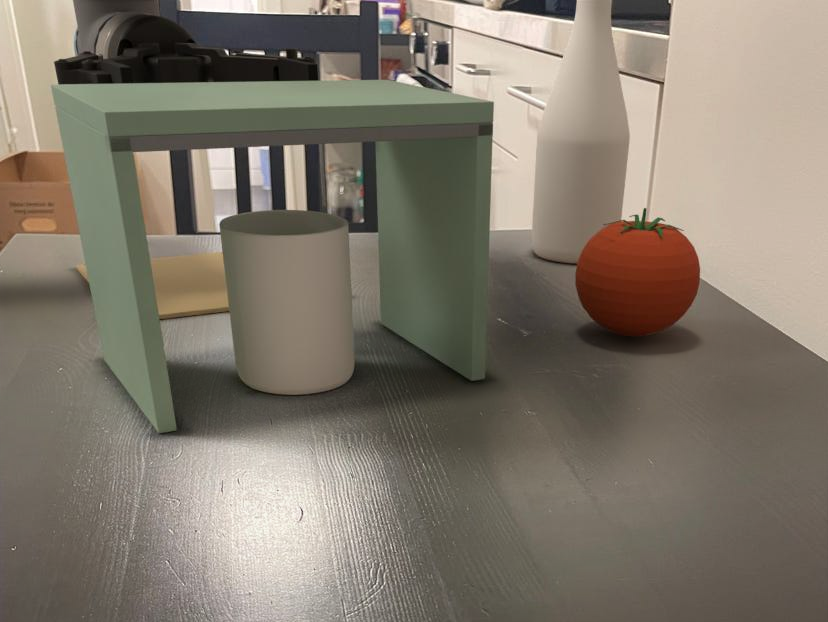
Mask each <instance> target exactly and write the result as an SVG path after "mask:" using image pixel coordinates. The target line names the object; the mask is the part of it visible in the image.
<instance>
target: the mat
mask: <svg viewBox="0 0 828 622" xmlns="http://www.w3.org/2000/svg"><path fill="white" fill-rule="evenodd" d="M150 262H151V268H152V274H153V281H154V287H155V294H156V300H157V306H158V313H159V319H160V320H165V319H173V318H182V317H190V316H198V315H199V316H200V315H208V314H216V313H227V312H229V303H228V295H227V286H226V278H225V269H224V261H223V252H222V251H218V252H217V251H216V252H208V253H196V254H185V255H184V254H183V255H174V256H162V257H153V258H151V257H150ZM75 266H76V270H77V271H78V273H79V274H81V276H82V277H83V278H84V279H85V280H86V281H87V283H89V279H88V274H87V269H86V264H76V265H75Z"/></svg>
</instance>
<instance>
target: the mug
mask: <svg viewBox="0 0 828 622" xmlns="http://www.w3.org/2000/svg"><path fill="white" fill-rule="evenodd" d="M218 226H219V234H220V242H221V252H223V261H224V269H225V278H226V286H227V295H228V303H229V311H228V313H229V319H230V329H231V338H232V345H233V353H234V361H235V368H236V371H237V375H238V377H239V378H240V380H241V381H242V382H243V383H244V384H245V385H246V386H248V387H249V388H251V389H253V390H256V391H259V392H263V393H267V394H274V395H282V396H283V395H285V396H286V395H287V396H289V395H290V396H295V395H296V396H297V395H311V394H317V393H318V394H319V393H323V392H327V391H331V390H334V389H337V388H339V387H342V386H343V385H345V384H346V383H347V382H348V381H349V380H350V379H351V378H352V377H353V374H354V370H355V338H354V317H353V315H354V313H353V293H352V273H351V271H352V270H351V253H350V252H351V251H350V250H351V249H350V229H349V228H350V227H349V221H348V220H347V219H346V218H344V217H342V216H340V215H336V214H333V213H329V212H323V211H314V210H302V209H269V210H268V209H267V210H255V211H254V210H253V211H248V212H242V213H237V214H232V215H229V216H227V217H224V218H222V219H221V220H220V222H219V223H218Z"/></svg>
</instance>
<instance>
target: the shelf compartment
mask: <svg viewBox="0 0 828 622" xmlns="http://www.w3.org/2000/svg"><path fill="white" fill-rule="evenodd" d="M50 88H51V93H52V99H53V103H54V106H55V107H54V109H55V114H56V118H57V123H58V129H59V135H60V140H61V144H62V150H63V154H64V161H65V166H66V170H67V171H66V172H67V176H68V179H69V180H68V182H69V186H70V191H71V196H72V203H73V207H74V212H75V217H76V222H77V227H78V233H79V237H80V243H81V249H82V254H83V259H84V263H85V264H86V269H87V274H88V279H89V282H88V285H89V288H90V294H91V299H92V304H93V310H94V316H95V321H96V326H97V330H98V336H99V341H100V347H101V350H102V351H101V352H102V356H103V361H104V362H105V363H106V364H107V366H108V367H109V369H110V370H111V372H112V373H113V374H114V375H115V377H116V378H117V379H118V381H119V382H120V383H121V385H122V386H123V388H124V389H125V390H126V391H127V393H128V394H129V395H130V397H131V399H133V401H134V402H135V404H136V405H137V406H138V408H139V409H140V411H142V413H143V414H144V416H145V417H146V419H147V420H148V421H149V423H150V424H151V425H152V427H153V428H154V429H155V430H156V431H157V433H158V434H164V433H170V432H176V431H177V430H178V428H177V422H176V421H177V420H176V416H175V410H174V409H175V408H174V402H173V396H172V391H171V390H172V388H171V383H170V376H169V371H168V364H167V357H166V351H165V345H164V339H163V333H162V327H161V325H162V324H161V321H160V320H161V319H159V313H158V306H157V300H156V294H155V287H154V281H153V274H152V268H151V262H150V259H151V256H150V250H149V243H148V237H147V230H146V224H145V218H144V211H143V205H142V198H141V192H140V187H139V179H138V173H137V167H136V161H135V155H134V153H147V152H171V151H172V152H173V151H193V150H217V149H235V148H237V149H238V148H240V149H241V148H259V147H260V148H261V147H263V148H264V147H282V146H283V147H285V146H303V145H305V146H306V145H307V146H308V145H327V144H329V145H330V144H331V145H333V144H350V143H351V144H352V143H353V144H355V143H374V142H375V143H374V144H375V173H376V174H375V175H376V177H375V178H376V207H377V209H376V210H377V241H378V243H377V244H378V271H379V272H378V273H379V274H378V275H379V277H378V278H379V306H380V307H379V308H380V309H379V311H380V325H382V326H383V327H386V328H387V329H388V330H390V331H392V332H393V333H395V334H396V335H397V336H399V337H401V338H403V339H404V340H406V341H407V342H409V343H410V344H412V345H414V346H415V347H417V348H419V349H420V350H422V351H423V352H425V354H426V353H427V354H428V355H429V356H431V357H432V358H434V359H436V360H437V361H439V362H441V363H442V364H444V365H445V366H447V367H448V368H450V369H452V370H453V371H455V372H456V373H458V374H460V375H461V376H463V377H464V378H466V379H468V380H469V381H471V382H474V381H481V380H485V379H486V362H487V361H486V360H487V359H486V357H487V355H486V354H487V325H488V298H489V297H488V295H489V293H488V292H489V264H490V261H489V260H490V231H491V201H492V200H491V199H492V170H493V169H492V165H493V140H494V139H493V137H494V110H495V109H494V108H495V102H494V100H493V101H492V100H487V99H482V98H477V97H474V96H473V97H472V96H468V95H464V94H459V93H453V92H449V91H444V90H440V89H434V88H430V87H424V86H421V85H420V86H419V85H414V84H410V83H405V82H400V81H395V80H391V79H343V80H341V79H340V80H335V79H334V80H333V79H332V80H318V81H264V82H196V83H127V84H58V83H57V84H50Z"/></svg>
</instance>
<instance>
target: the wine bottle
mask: <svg viewBox="0 0 828 622" xmlns="http://www.w3.org/2000/svg"><path fill="white" fill-rule="evenodd" d="M612 3H613V0H576V5H575V15H574V19H573V24H572V27H571V32H570V35H569V38H568V41H567V44H566V47H565V50H564V52H563V56H562V58H561V61H560V65H559V67H558V70H557V73H556V75H555V79H554V81H553V84H552V88H551V90H550V93H549V96H548V99H547V101H546V104H545V107H544V110H543V113H542V115H541V119H540V123H539V126H538V129H537V134H536V149H535V150H536V151H535V167H534V168H535V169H534V170H535V171H534V185H533V186H534V187H533V188H534V189H533V203H532V204H533V205H532V220H531V221H532V222H531V239H530V242H531V248H532V251H533V252H534V254H536V256H538V257H540V258H542V259H545V260H548V261H551V262H558V263H565V264H577V262H578V260H579V257H580V255H581V252H582V250H583V248H584V247H585V245H586V244H587V242H588V241H589V239H590V238H592V237H593V236H594V235H595V234H596V233H597V232H599V231H600V230H601V229H603V228H604V227H606V226H608V225H610V224H608V223H612V222H616V221H620V220H622V217H623V207H624V197H625V187H626V178H627V171H628V169H627V168H628V159H629V150H630V141H631V139H630V138H631V136H630V134H631V133H630V127H629V120H628V119H629V118H628V113H627V108H626V103H625V98H624V92H623V87H622V82H621V77H620V71H619V66H618V59H617V54H616V48H615V43H614V38H613V30H612V27H613V26H612V5H613V4H612ZM603 224H607V225H603Z"/></svg>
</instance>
